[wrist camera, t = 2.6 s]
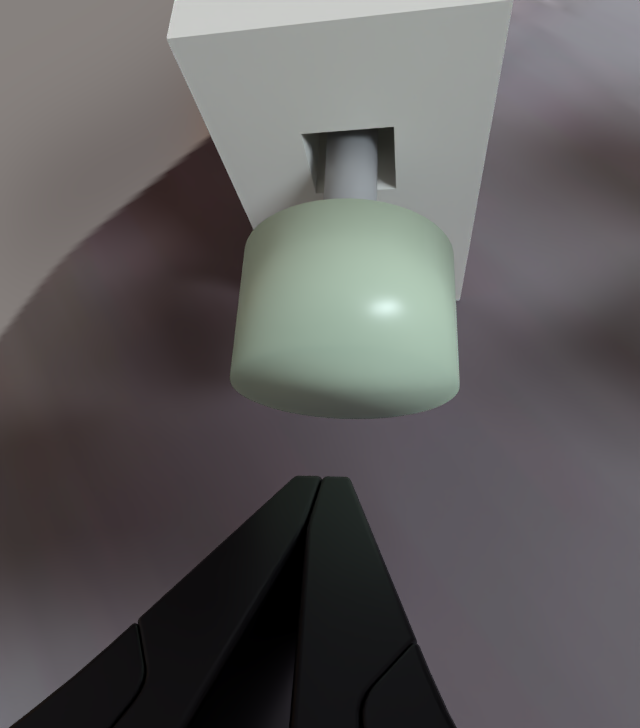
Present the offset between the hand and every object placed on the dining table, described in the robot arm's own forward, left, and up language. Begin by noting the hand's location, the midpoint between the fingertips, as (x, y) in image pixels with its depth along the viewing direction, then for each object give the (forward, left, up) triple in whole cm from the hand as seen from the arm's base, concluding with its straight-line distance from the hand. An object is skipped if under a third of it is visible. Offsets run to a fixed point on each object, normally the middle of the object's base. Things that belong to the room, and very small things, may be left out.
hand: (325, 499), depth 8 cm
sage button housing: (+7, +8, -9) cm, 13 cm away
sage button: (+4, +4, -4) cm, 7 cm away
